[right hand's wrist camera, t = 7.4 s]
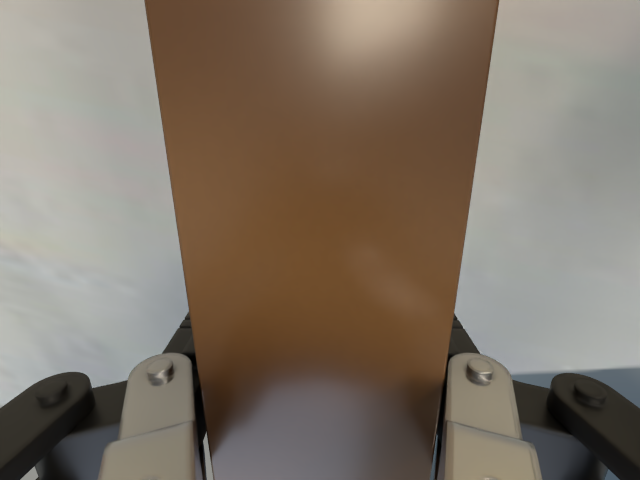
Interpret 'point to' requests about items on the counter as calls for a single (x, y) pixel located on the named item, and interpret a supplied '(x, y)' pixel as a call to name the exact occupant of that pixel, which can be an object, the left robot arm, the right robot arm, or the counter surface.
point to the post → (321, 220)
